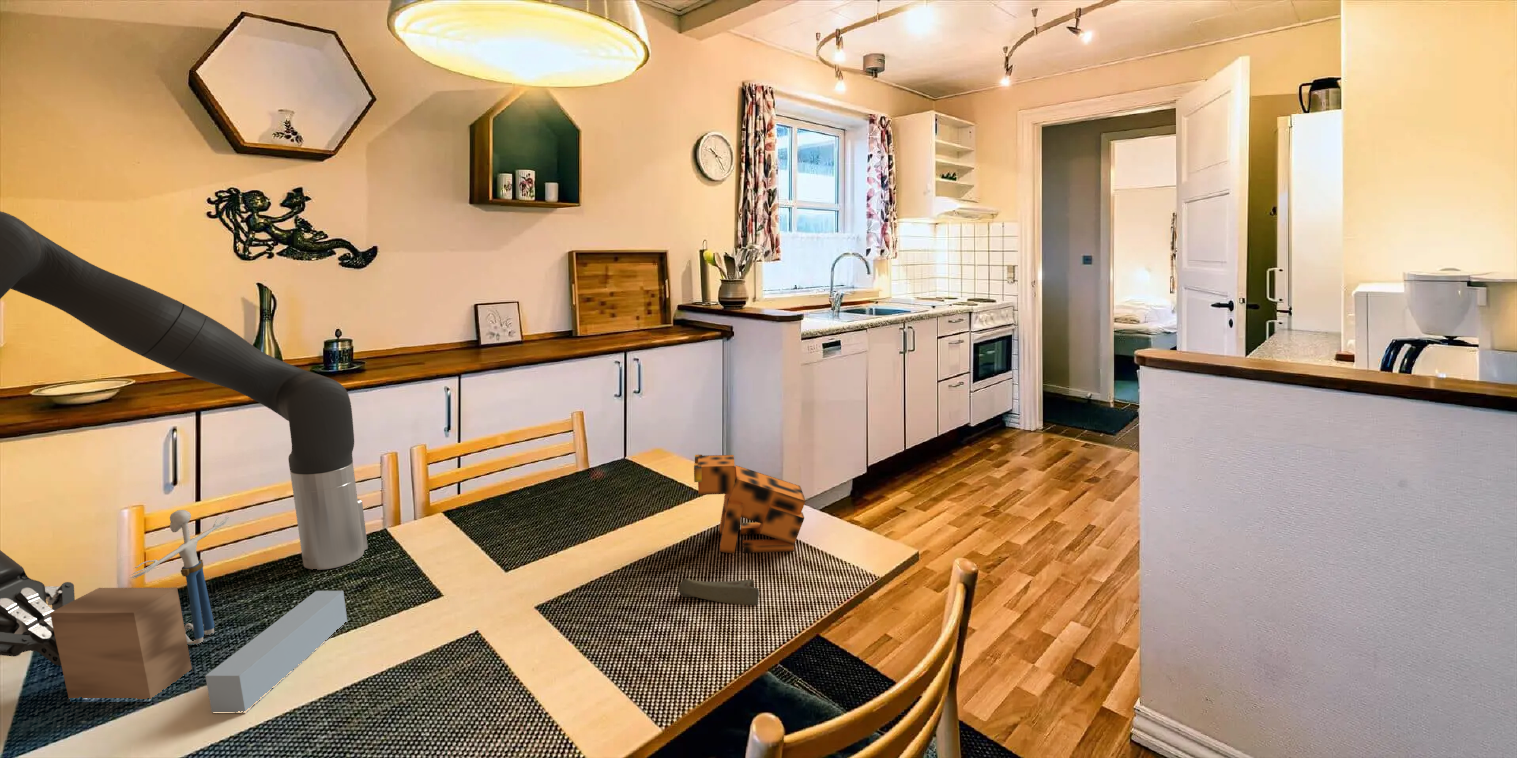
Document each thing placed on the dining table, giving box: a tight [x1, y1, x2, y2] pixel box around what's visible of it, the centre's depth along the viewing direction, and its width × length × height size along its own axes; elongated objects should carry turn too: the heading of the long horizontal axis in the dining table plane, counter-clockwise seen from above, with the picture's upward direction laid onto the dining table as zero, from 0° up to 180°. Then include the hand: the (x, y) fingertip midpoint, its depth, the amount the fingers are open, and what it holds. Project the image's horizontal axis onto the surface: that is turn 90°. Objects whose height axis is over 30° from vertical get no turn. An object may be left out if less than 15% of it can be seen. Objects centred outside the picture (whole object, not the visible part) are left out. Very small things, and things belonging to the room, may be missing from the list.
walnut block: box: [50, 587, 193, 699], centre depth 84 cm, size 6×10×12 cm, turn 90°
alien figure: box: [130, 509, 231, 644], centre depth 93 cm, size 20×5×19 cm, turn 8°
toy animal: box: [693, 454, 806, 554], centre depth 125 cm, size 10×20×16 cm, turn 94°
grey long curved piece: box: [677, 578, 760, 606], centre depth 106 cm, size 13×5×4 cm, turn 83°
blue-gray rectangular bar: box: [204, 590, 348, 713], centre depth 89 cm, size 20×4×5 cm, turn 0°
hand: (76, 659), depth 84 cm, fingers closed
